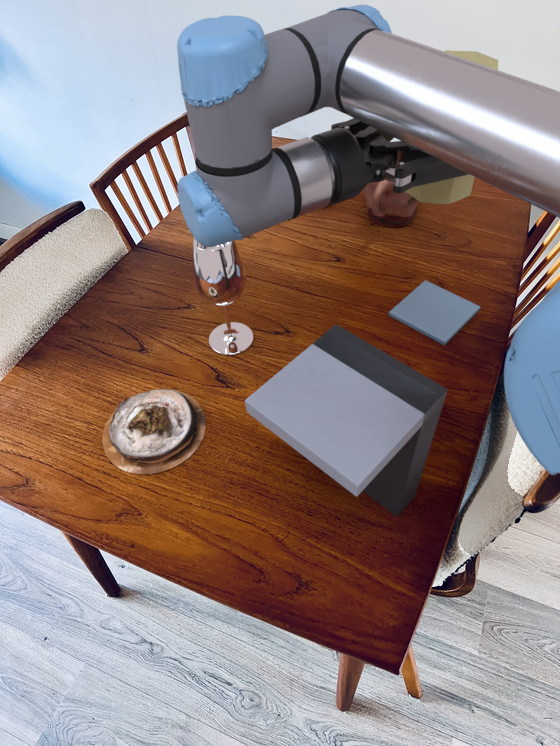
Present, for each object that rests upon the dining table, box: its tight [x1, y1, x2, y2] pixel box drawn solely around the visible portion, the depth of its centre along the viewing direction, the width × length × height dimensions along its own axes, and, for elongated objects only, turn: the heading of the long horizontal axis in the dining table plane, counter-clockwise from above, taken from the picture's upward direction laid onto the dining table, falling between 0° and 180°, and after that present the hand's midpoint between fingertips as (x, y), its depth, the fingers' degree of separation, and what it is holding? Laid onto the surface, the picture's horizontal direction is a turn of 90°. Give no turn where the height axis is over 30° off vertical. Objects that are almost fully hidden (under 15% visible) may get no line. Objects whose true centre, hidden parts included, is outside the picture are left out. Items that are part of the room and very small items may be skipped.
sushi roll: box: [101, 388, 207, 475], centre depth 74 cm, size 15×15×4 cm
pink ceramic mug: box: [362, 151, 421, 228], centre depth 102 cm, size 20×12×14 cm, turn 155°
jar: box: [405, 50, 499, 206], centre depth 62 cm, size 9×9×15 cm
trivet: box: [388, 279, 481, 346], centre depth 88 cm, size 11×11×1 cm
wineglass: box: [192, 237, 254, 356], centre depth 80 cm, size 8×8×20 cm
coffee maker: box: [244, 324, 448, 518], centre depth 59 cm, size 14×14×22 cm
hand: (477, 118), depth 63 cm, fingers closed on jar, 8 cm apart
